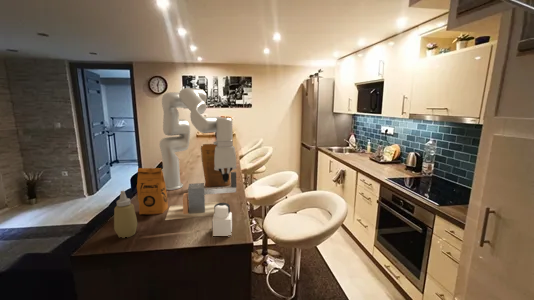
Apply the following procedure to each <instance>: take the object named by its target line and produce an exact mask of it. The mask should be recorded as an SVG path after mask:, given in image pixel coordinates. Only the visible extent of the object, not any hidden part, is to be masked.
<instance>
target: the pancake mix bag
mask: <svg viewBox="0 0 534 300" xmlns="http://www.w3.org/2000/svg"><path fill="white" fill-rule="evenodd" d="M215 147H217V145H214V143H204V144H202V145H200V155H201V163H202V170H203V171H202V172H203V176H204V180H205V182H204V187H206V188H214V187H228V186H231V172H230V173H229V180H228V182H224V180H223V178H222V173H221V172H220V171H217V170H214V167H215V163H214V156H215ZM226 171H227V168H224V172H225V174H226Z"/></svg>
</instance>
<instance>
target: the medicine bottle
mask: <svg viewBox="0 0 534 300" xmlns="http://www.w3.org/2000/svg"><path fill="white" fill-rule="evenodd" d="M212 216H213V217H212V220H211V223H212V224H211V226H212V227H211V228H212V237H213V236H228V235H231V236H232V233H231V232H233V213H232V212H231V207H230V204H229V203H227V202H219V203H218V204H216V205H215V206H214V215H212ZM228 237H229V236H228Z"/></svg>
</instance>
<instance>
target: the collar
mask: <svg viewBox="0 0 534 300" xmlns="http://www.w3.org/2000/svg"><path fill="white" fill-rule="evenodd" d="M182 205H183V214H188V210H189V197H188V192H187V193H186V192H185V193H183V197H182Z"/></svg>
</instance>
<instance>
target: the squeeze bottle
mask: <svg viewBox="0 0 534 300" xmlns="http://www.w3.org/2000/svg"><path fill="white" fill-rule="evenodd" d="M113 210H114V212H113V213H114V214H113V230H114V232H115V233H116V235H117V237H118V238H120V237H122V238H121V239H126V238H125V237H127V238H131V237H132V236H134V235H135V234H136V231H137V227H138V219H137V215H136V210H135V205H134V204H133V203H132V201H131V198H128V197H127V195H126V191H125V190H121V191H120V196H119V199H118V200H116V206H115V207H114V209H113Z"/></svg>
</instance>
